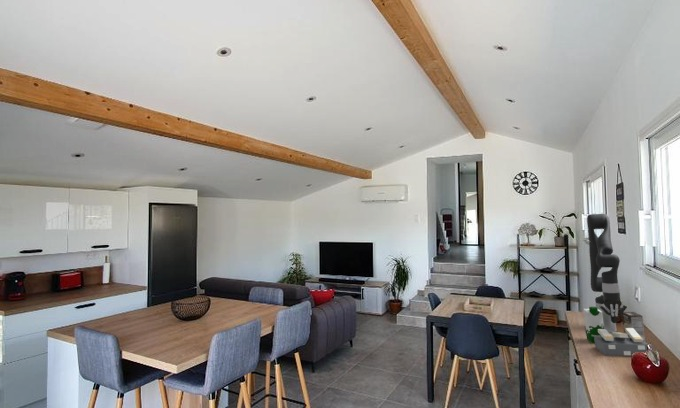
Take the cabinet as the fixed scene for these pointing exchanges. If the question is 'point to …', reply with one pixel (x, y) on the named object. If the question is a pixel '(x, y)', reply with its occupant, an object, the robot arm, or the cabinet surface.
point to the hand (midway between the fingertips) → (614, 322)
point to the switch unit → (619, 346)
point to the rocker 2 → (619, 334)
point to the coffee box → (633, 323)
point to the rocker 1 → (605, 334)
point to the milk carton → (593, 322)
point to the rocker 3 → (633, 335)
